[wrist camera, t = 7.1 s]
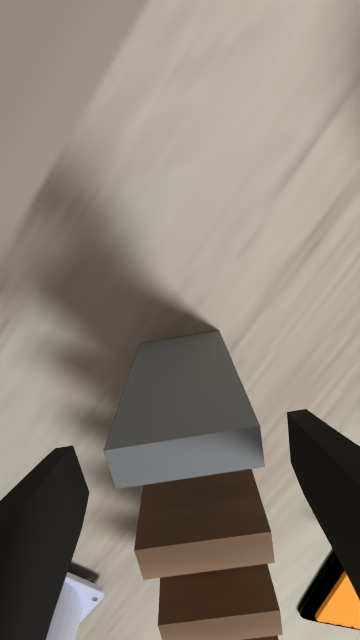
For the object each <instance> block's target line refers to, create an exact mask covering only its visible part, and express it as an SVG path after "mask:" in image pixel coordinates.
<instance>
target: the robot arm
mask: <svg viewBox="0 0 360 640" xmlns="http://www.w3.org/2000/svg"><path fill="white" fill-rule="evenodd" d="M287 418H288V431H289V444H290V457H291V464H292V466H293V469H294V471H295V474H296V476H297V479H298V481H299V484H300V486H301V489H302V491H303V493H304V496H305V497H306V499H307V501H308V503H309V505H310V507H311V509H312V511H313V513H314V515H315V516H316V518H317V520H318V522H319V524H320V526H321V528H322V529H323V531H324V533H325V535H326V537H327V539H328V541H329V542H330V544H331V546H332V548H333V550H334V552H335V554H336V556H337V557H338V559H339V561H340V563H341V565H342V567H343V569H344V570H345V572H346V574H347V576H348V578H349V580H350V582H351V584H352V586H353V588H354V590H355V592H356V594H357V596H358V598H359V600H360V446H358V445H357V444H355V443H354V442H352V441H351V440H349V439H348V438H346V437H345V436H343V435H342V434H340V433H339V432H338V431H336V430H335V429H333V428H332V427H330V426H329V425H328V424H326V423H325V422H323V421H322V420H321V419H319V418H318V417H316V416H315V415H314V414H312V413H311V412H309V411H308V410H306V409H304V410H298V411H291V412H287ZM88 497H89V490H88V487H87V484H86V482H85V479H84V476H83V473H82V470H81V467H80V464H79V462H78V459H77V456H76V453H75V450H74V447H73V446H68V447H61V448H55V449H54V450H53V451H52V452H51V453H50V454H49V455H47V456H46V457H45V458H44V459H43V460H42V461H41V462H40V463H39V464H38V465H37V466H36V467H35V468H34V469H33V470H32V471H31V472H30V473H29V474H28V475H27V476H25V477H24V478H23V479H22V480H21V481H20V482H19V483H18V484H17V485H16V486H15V487H14V488H13V489H12V490H11V491H10V492H9V493H8V494H7V495H6V496H5V497H4V498H3V499H2V500H1V501H0V640H75V639H76V635H77V631H78V627H79V623H80V622H81V621H82V620H83V619H84V618H85V617H86V616H87V615H88V613H89V612H90V611H91V610H92V609H93V608H94V607H95V606H96V605H97V604H98V603H99V602H100V600H101V599H102V598H103V597H104V594H105V589H104V588H103V587H101V586H99V585H97V584H94V583H92V582H90V581H88V580H85V579H83V578H81V577H78V576H76V575H74V574H72V573H69V572H68V569H69V566H70V563H71V560H72V557H73V554H74V551H75V548H76V545H77V542H78V538H79V535H80V532H81V529H82V525H83V521H84V516H85V512H86V507H87V502H88Z"/></svg>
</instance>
